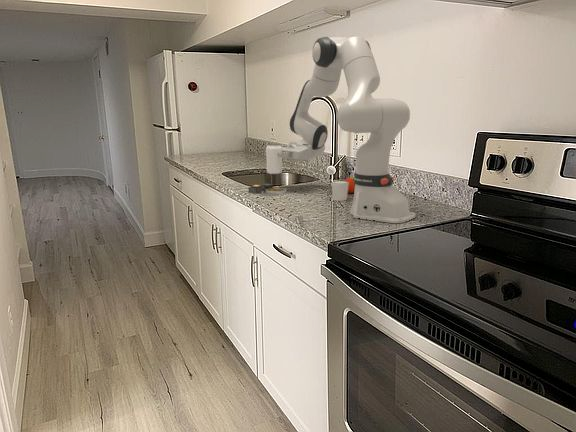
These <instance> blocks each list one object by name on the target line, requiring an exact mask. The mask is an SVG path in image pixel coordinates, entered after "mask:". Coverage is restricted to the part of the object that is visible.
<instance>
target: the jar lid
mask: <svg viewBox="0 0 576 432" xmlns="http://www.w3.org/2000/svg"><path fill="white" fill-rule="evenodd" d="M286 192H288V191H287V188H284V187H273V188H268V189H266V190H265V193H266V194H273V195H277V196H279V195H278V194H281V195H284V194H285V193H286ZM286 194H287V193H286ZM286 194H285V195H286Z"/></svg>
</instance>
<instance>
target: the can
mask: <svg viewBox="0 0 576 432" xmlns="http://www.w3.org/2000/svg"><path fill="white" fill-rule="evenodd" d="M281 145H282V144H281V143H276V142H275V143H272V142H271V143H267V146H266V148H265V157H266V174H269V175H278V174H282V172H283V158H282V157H281V158H280V157H278V153H282V147H283V146H281Z"/></svg>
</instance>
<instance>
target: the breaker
mask: <svg viewBox="0 0 576 432" xmlns="http://www.w3.org/2000/svg"><path fill="white" fill-rule="evenodd" d="M250 187H251V188H261V187H262V184H261V185H259V184H254V185H251V186H250Z"/></svg>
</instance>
